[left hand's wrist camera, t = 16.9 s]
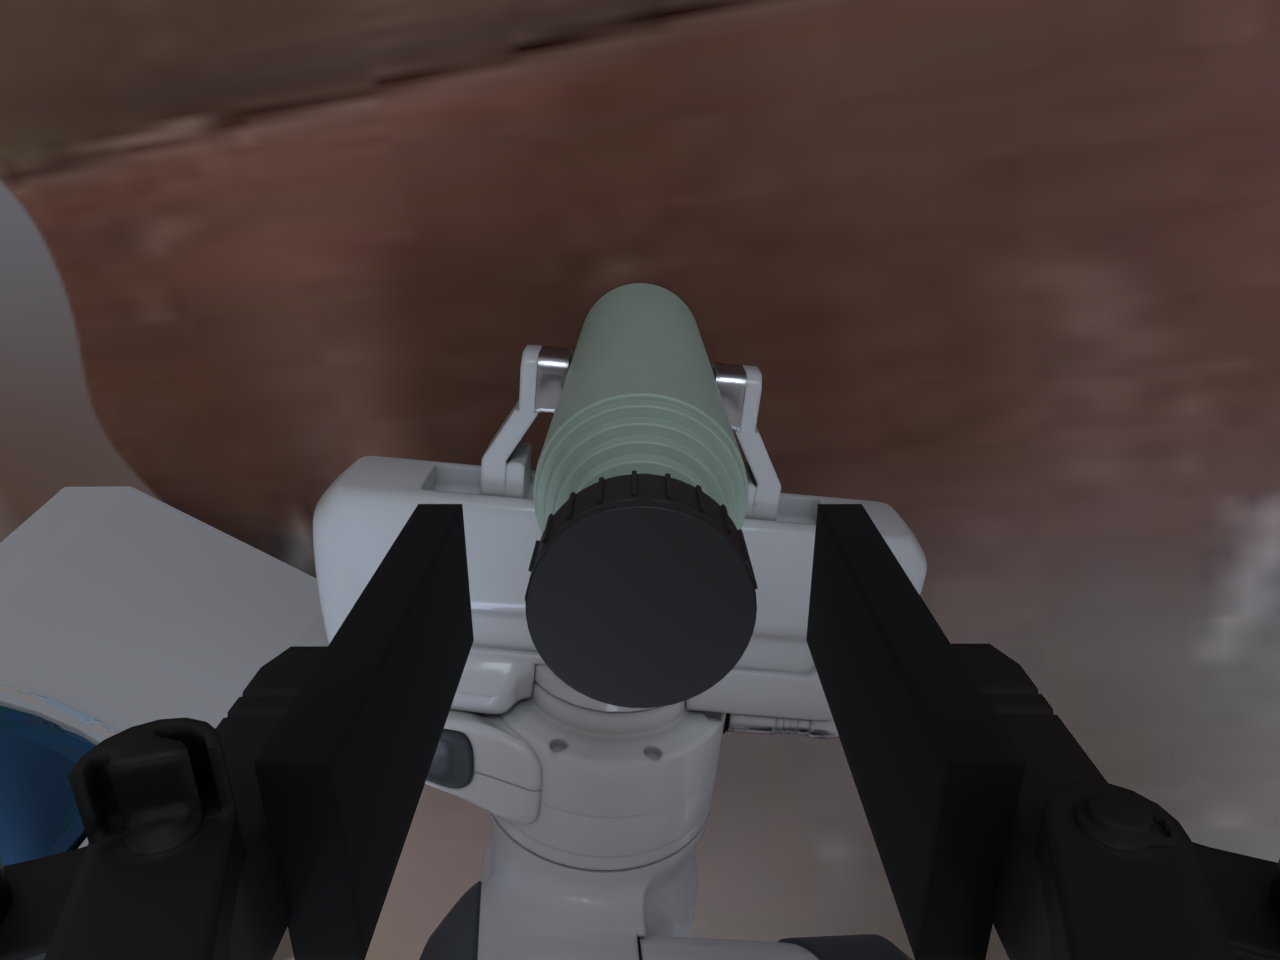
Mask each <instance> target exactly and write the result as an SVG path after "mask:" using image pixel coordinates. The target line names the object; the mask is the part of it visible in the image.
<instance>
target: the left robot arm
mask: <svg viewBox="0 0 1280 960" xmlns="http://www.w3.org/2000/svg"><path fill="white" fill-rule="evenodd" d="M473 641H474V637H473V626H472V614H471V602H470V590H469V578H468V566H467V554H466V542H465V530H464V518H463V507H462V504H418V505H417V507H416V508H415V510H414V512H413V513H412V515H411V516H410V518H409V519H408V521H407V523H406V524H405V526H404V527H403V529H402V530H401V532H400V534H399V535H398V537H397V538H396V540H395V541H394V543H393V545H392V546H391V548H390V549H389V551H388V553H387V554H386V556H385V557H384V559H383V560H382V562H381V564H380V565H379V567H378V568H377V570H376V571H375V573H374V575H373V576H372V578H371V579H370V581H369V582H368V584H367V586H366V587H365V589H364V590H363V592H362V593H361V595H360V597H359V598H358V600H357V601H356V603H355V605H354V606H353V608H352V609H351V611H350V612H349V614H348V616H347V617H346V619H345V620H344V622H343V623H342V625H341V627H340V628H339V630H338V631H337V633H336V634H335V636H334V638H333V639H332V641H331V642H330V644H329V645H328V646H291V647H289V648H288V649H287V650H285V651H284V652H282V653H281V654H279V655H278V656H277V657H275V658H274V659H272V660H271V661H269V662H268V663H266V664H265V665H264V666H262V667H261V668H260V669H259V670H258V672H257V673H256V675H255V676H254V677H253V679H252V680H251V681H250V683H249V684H248V685H247V687H246V688H245V689H244V691H243V695H242V697H239V698H238V699H237V700H236V702H235V703H234V704H233V706H232V707H231V708H230V710H229V711H228V715H227V718H223V719H222V721H221V722H220V723H219V725H218V726H217V727H216V729H215V728H214V727H212V726H211V725H210V724H209V723H208V722H205V721H201V720H196V719H191V718H171V719H159V720H155V721H152V722H148V723H144V724H141V725H137V726H133V727H130V728H128V729H126V730H124V731H122V732H120V733H118V734H115V735H113V736H111V737H109V738H107V739H105V740H103V741H102V742H100V743H99V744H98V745H96V746H95V747H94V748H92V749H91V750H90V751H88V752H87V753H86V754H84V755H83V756H81V758H80V759H79V760H78V762H77V763H76V764H75V766H74V767H73V768H72V770H71V771H70V772H69V774H68V778H69V781H70V784H71V787H72V790H73V794H74V797H75V800H76V803H77V807H78V810H79V813H80V816H81V819H82V823H83V826H84V829H85V832H86V836H87V839H88V842H89V843H88V845H87V846H85V847H82V848H78V849H75V850H72V851H68V852H63V853H59V854H55V855H50V856H46V857H42V858H37V859H33V860H29V861H24V862H20V863H16V864H11V865H7V866H3V865H2V862H1V860H0V960H272V959H273V957H274V954H275V952H276V950H277V948H278V946H279V944H280V941H281V939H282V937H283V935H284V933H285V930H286V928H287V926H288V929H289V933H290V938H291V943H292V948H293V953H294V958H295V960H365V957H366V954H367V951H368V948H369V945H370V942H371V939H372V936H373V933H374V930H375V927H376V925H377V922H378V919H379V916H380V913H381V910H382V907H383V904H384V901H385V898H386V895H387V892H388V889H389V887H390V884H391V881H392V878H393V875H394V872H395V869H396V866H397V863H398V860H399V857H400V854H401V851H402V849H403V846H404V843H405V840H406V837H407V834H408V831H409V828H410V825H411V822H412V819H413V816H414V813H415V811H416V808H417V805H418V802H419V799H420V796H421V793H422V790H423V787H424V784H425V781H426V778H427V776H428V773H429V770H430V767H431V764H432V761H433V758H434V755H435V752H436V749H437V746H438V743H439V740H440V738H441V735H442V732H443V729H444V726H445V723H446V720H447V717H448V714H449V711H450V708H451V705H452V702H453V700H454V697H455V694H456V691H457V688H458V685H459V682H460V679H461V676H462V673H463V670H464V667H465V664H466V662H467V659H468V656H469V653H470V650H471V647H472V644H473ZM806 641H807V644H808V647H809V650H810V653H811V656H812V659H813V662H814V664H815V667H816V670H817V673H818V676H819V679H820V682H821V685H822V688H823V691H824V694H825V697H826V700H827V702H828V705H829V708H830V711H831V714H832V717H833V720H834V723H835V726H836V729H837V732H838V735H839V738H840V740H841V743H842V746H843V749H844V752H845V755H846V758H847V761H848V764H849V767H850V770H851V773H852V776H853V778H854V781H855V784H856V787H857V790H858V793H859V796H860V799H861V802H862V805H863V808H864V811H865V813H866V816H867V819H868V822H869V825H870V828H871V831H872V834H873V837H874V840H875V843H876V846H877V849H878V851H879V854H880V857H881V860H882V863H883V866H884V869H885V872H886V875H887V878H888V881H889V884H890V887H891V889H892V892H893V895H894V898H895V901H896V904H897V907H898V910H899V913H900V916H901V919H902V922H903V925H904V927H905V930H906V933H907V936H908V939H909V942H910V945H911V948H912V951H913V954H914V957H915V960H985V958H986V953H987V948H988V943H989V939H990V934H991V929H992V924H994V926H995V928H996V931H997V933H998V935H999V937H1000V939H1001V942H1002V944H1003V946H1004V948H1005V950H1006V952H1007V955H1008V957H1009V959H1010V960H1280V860H1279V862H1278V863H1275V862H1271V861H1267V860H1262V859H1258V858H1254V857H1249V856H1245V855H1241V854H1236V853H1232V852H1227V851H1223V850H1219V849H1214V848H1210V847H1207V846H1203V845H1200V844H1197V843H1193V842H1192V841H1191V840H1190V838H1189V837H1188V835H1187V834H1186V832H1185V831H1184V829H1183V828H1182V826H1181V825H1180V823H1179V822H1178V821H1177V820H1176V819H1175V818H1173V817H1172V816H1171V815H1170V814H1169V813H1168V812H1166V811H1165V810H1164V809H1163V808H1162V807H1160V806H1159V805H1158V804H1156V803H1154V802H1152V801H1151V800H1149V799H1147V798H1145V797H1143V796H1141V795H1139V794H1137V793H1135V792H1134V791H1132V790H1129V789H1125V788H1122V787H1119V786H1115V785H1112V784H1109V783H1107V781H1106V780H1105V779H1104V777H1103V776H1102V775H1101V773H1100V772H1099V771H1098V769H1097V768H1096V767H1095V765H1094V764H1093V763H1092V761H1091V760H1090V759H1089V757H1088V756H1087V754H1086V753H1085V752H1084V750H1083V749H1082V748H1081V746H1080V745H1079V744H1078V742H1077V741H1076V740H1075V738H1074V737H1073V736H1072V734H1071V733H1070V732H1069V730H1068V729H1067V728H1066V726H1065V725H1064V724H1063V722H1062V721H1061V720H1060V718H1059V717H1058V716H1057V715H1054V714H1053V709H1052V707H1051V706H1050V705H1049V703H1048V702H1047V701H1046V699H1045V698H1044V697H1043V695H1042V694H1038V689H1037V687H1036V686H1035V685H1034V683H1033V682H1032V681H1031V679H1030V678H1029V677H1028V675H1027V674H1026V673H1025V671H1024V670H1023V669H1022V667H1021V666H1020V665H1019V664H1018V663H1016V662H1015V661H1013V660H1012V659H1011V658H1009V657H1008V656H1006V655H1005V654H1003V653H1002V652H1000V651H999V650H998V649H996V648H995V647H993V646H992V645H990V644H950V642H949V641H948V639H947V638H946V636H945V634H944V633H943V631H942V630H941V628H940V627H939V625H938V623H937V622H936V620H935V619H934V617H933V616H932V614H931V612H930V611H929V609H928V608H927V606H926V605H925V603H924V601H923V600H922V598H921V597H920V595H919V593H918V592H917V590H916V589H915V587H914V586H913V584H912V582H911V581H910V579H909V578H908V576H907V575H906V573H905V571H904V570H903V568H902V567H901V565H900V564H899V562H898V560H897V559H896V557H895V556H894V554H893V553H892V551H891V549H890V548H889V546H888V545H887V543H886V541H885V540H884V538H883V537H882V535H881V534H880V532H879V530H878V529H877V527H876V526H875V524H874V523H873V521H872V519H871V518H870V516H869V515H868V513H867V512H866V510H865V508H864V507H863V505H862V504H818V507H817V518H816V530H815V542H814V554H813V566H812V578H811V590H810V602H809V614H808V626H807V637H806Z"/></svg>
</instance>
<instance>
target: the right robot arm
mask: <svg viewBox="0 0 1280 960" xmlns="http://www.w3.org/2000/svg"><path fill="white" fill-rule="evenodd" d="M571 360H572V349H565V348H556V347H547V346H542V345H527V346H526V347H525V349H524V351H523V355H522V361H521V371H520V392H519V400H518V401H517V403H516V404H515V406H514V407H513V409H512V410H511V412H510V413H509V415H508V416H507V418H506V419H505V421H504V422H503V424H502V425H501V426H500V428H499V429H498V431H497V432H496V434H495V435H494V437H493V438H492V440H491V442H490V444H489V446H488V448H487V450H486V452H485V453H484V455H483V457H482V462H481V466H480V465H469V464H458V463H447V462H436V461H425V460H414V459H403V458H392V457H382V456H364V457H362V458H359V459H358V460H356V461H355V462H354V463H353V464H352V465H351V466H350V467H348V468H347V469H346V470H345V471H344V472H343V473H342V474H341V475H339V476H338V477H337V478H336V479H335V480H334V481H333V482H332V484H331V485H330V486H329V487H328V489H327V490H326V491H325V492H324V493H323V495H322V496H321V498H320V500H319V501H318V503H317V506H316V508H315V511H314V515H313V548H314V560H315V570H316V578H317V585H318V592H319V598H320V604H321V610H322V615H323V620H324V625H325V630H326V635H327V639H328V643H329V644H330V642H331V641H332V639H333V638H334V636H335V634H336V633H337V631H338V630H339V628H340V627H341V625H342V623H343V622H344V620H345V619H346V617H347V616H348V614H349V612H350V611H351V609H352V608H353V606H354V605H355V603H356V601H357V600H358V598H359V597H360V595H361V593H362V592H363V590H364V589H365V587H366V586H367V584H368V582H369V581H370V579H371V578H372V576H373V575H374V573H375V571H376V570H377V568H378V567H379V565H380V564H381V562H382V560H383V559H384V557H385V556H386V554H387V553H388V551H389V549H390V548H391V546H392V545H393V543H394V541H395V540H396V538H397V537H398V535H399V534H400V532H401V530H402V529H403V527H404V526H405V524H406V523H407V521H408V519H409V518H410V516H411V515H412V513H413V512H414V510H415V508H416V507H417V505H418V504H462V507H463V518H464V530H465V542H466V554H467V566H468V578H469V590H470V602H471V614H472V626H473V637H474V641H473V644H472V647H471V650H470V653H469V656H468V659H467V662H466V664H465V667H464V670H463V673H462V676H461V679H460V682H459V685H458V688H457V691H456V694H455V697H454V700H453V702H452V705H451V708H450V711H449V714H448V717H447V720H446V723H445V726H444V729H443V732H442V735H441V738H440V740H439V743H438V746H437V749H436V752H435V755H434V758H433V761H432V764H431V767H430V770H429V773H428V776H427V778H426V781H425V784H427V785H429V786H432V787H435V788H437V789H440V790H443V791H445V792H448V793H450V794H452V795H455V796H457V797H460V798H462V799H464V800H466V801H468V802H471V803H473V804H475V805H477V806H479V807H481V808H483V809H485V810H487V811H489V814H490V818H491V821H492V824H493V832H492V834H491V836H490V839H489V841H488V844H487V847H486V850H485V854H484V858H483V864H482V873H481V881H479V882H477V883H476V884H475V885H474V886H472V887H471V888H470V889H469V890H468V891H467V892H466V893H465V894H464V895H463V896H462V897H461V898H460V899H459V901H458V902H457V903H456V904H455V905H454V907H453V908H452V909H451V911H450V912H449V913H448V914H447V916H446V917H445V918H444V919H443V921H442V922H441V923H440V925H439V926H438V927H437V928H436V930H435V931H434V932H433V934H432V935H431V936H430V938H429V940H428V941H427V943H426V946H425V948H424V950H423V952H422V955H421V957H420V960H912V959H911V958H909V957H908V956H907V955H906V954H905V953H903V952H902V951H901V950H900V949H899V948H897V947H896V946H895V945H894V944H893V943H891V942H890V941H889V940H887V939H885V938H884V937H882V936H879V935H875V934H864V935H844V936H823V937H802V938H786V939H781V940H779V941H778V942H764V941H746V940H727V939H708V938H690V937H689V933H690V928H691V924H692V918H693V913H694V908H695V903H696V897H697V887H698V867H697V861H696V856H695V852H694V848H695V846H696V845H697V843H698V841H699V839H700V838H701V836H702V834H703V832H704V830H705V827H706V824H707V821H708V818H709V815H710V809H711V803H712V798H713V792H714V785H715V779H716V773H717V767H718V761H719V755H720V749H721V740H722V734H723V733H725V731H728V732H741V733H754V734H773V733H774V734H780V733H781V734H787V733H788V734H794V733H795V734H799V735H806V737H810V738H816V739H833V738H839V735H838V732H837V729H836V726H835V723H834V720H833V717H832V714H831V711H830V708H829V705H828V702H827V700H826V697H825V694H824V691H823V688H822V685H821V682H820V679H819V676H818V673H817V670H816V667H815V664H814V662H813V659H812V656H811V653H810V650H809V647H808V644H807V641H806V637H807V626H808V614H809V602H810V590H811V578H812V566H813V554H814V542H815V530H816V518H817V507H818V504H862V505H863V507H864V508H865V510H866V512H867V513H868V515H869V516H870V518H871V519H872V521H873V523H874V524H875V526H876V527H877V529H878V530H879V532H880V534H881V535H882V537H883V538H884V540H885V541H886V543H887V545H888V546H889V548H890V549H891V551H892V553H893V554H894V556H895V557H896V559H897V560H898V562H899V564H900V565H901V567H902V568H903V570H904V571H905V573H906V575H907V576H908V578H909V579H910V581H911V582H912V584H913V586H914V587H915V589H916V590H917V592H918V593H919V595H920V594H921V591H922V588H923V584H924V581H925V577H926V571H927V562H926V557H925V554H924V552H923V550H922V548H921V546H920V544H919V542H918V540H917V539H916V537H915V535H914V534H913V532H912V531H911V529H910V528H909V527H908V525H907V524H906V523H905V522H904V520H903V519H902V518H901V517H900V516H899V515H898V513H897V512H896V511H895V510H894V509H893V508H892V507H891V506H890V505H888V504H886V503H883V502H878V501H868V500H856V499H845V498H834V497H823V496H812V495H801V494H790V493H780V492H781V484H780V482H779V480H778V477H777V475H776V472H775V470H774V468H773V465H772V463H771V460H770V458H769V455H768V453H767V451H766V448H765V446H764V443H763V441H762V439H761V436H760V434H759V431H758V429H757V427H756V423H757V417H758V410H759V404H760V397H761V391H762V374H761V372H760V370H759V369H758V367H757V366H747V365H737V364H725V363H713V365H712V371H713V374H714V377H715V379H716V382H717V385H718V388H719V391H720V394H721V397H722V400H723V403H724V406H725V409H726V412H727V415H728V418H729V421H730V424H731V427H732V430H735V433H736V435H737V437H738V440H739V442H740V444H741V447H742V449H743V451H744V454H745V456H746V458H747V461H748V463H749V466H748V465H747V463H746V462H744V465H745V470H746V474H747V479H748V505H747V510H746V516H745V519H744V522H743V526H742V529H741V530H742V532H743V535H744V539H745V542H746V546H747V550H748V553H749V557H750V561H751V564H752V568H753V572H754V575H755V579H756V583H757V589H755V591H756V600H757V613H756V622H755V626H754V631H753V634H752V637H751V639H750V642H749V644H748V647H747V648H746V650H745V652H744V654H743V655H742V657H741V659H740V660H739V661H738V663H737V664H736V665H735V667H734V668H733V669H732V670H731V671H730V672H729V673H728V674H727V675H726V676H725V677H724V678H723V679H722V680H721V681H719V682H718V683H717V684H715V685H714V686H713V687H711V688H710V689H708V690H706V691H705V692H703V693H701V694H700V695H697V696H695V697H693V698H691V699H688V700H686V701H683V702H679V703H676V704H673V705H668V706H663V707H656V708H627V707H619V706H614V705H610V704H606V703H602V702H600V701H597V700H594V699H591V698H589V697H587V696H585V695H583V694H581V693H579V692H577V691H576V690H574V689H573V688H571V687H570V686H568V685H567V684H565V683H564V682H563V681H562V680H561V679H559V678H558V677H557V676H556V675H555V674H554V673H553V672H552V671H551V670H550V669H549V667H548V666H547V665H546V664H545V662H544V661H543V659H542V658H541V656H540V655H539V654H538V652H537V650H536V648H535V646H534V644H533V642H532V639H531V636H530V633H529V630H528V625H527V619H526V601H525V594H526V590H527V586H528V582H529V579H530V575H531V571H528V569H529V565H530V562H531V558H532V554H533V550H534V547H535V543H536V540H538V541H540V539H541V537H542V533H541V530H540V527H539V524H538V520H537V517H536V513H535V508H534V501H533V484H534V476H535V472H536V470H531V460H532V445H531V444H530V443H527V442H519V441H520V440H521V439H522V437H523V436H524V434H525V433H526V431H527V430H528V428H529V427H530V425H531V424H532V422H533V421H534V419H535V418H536V416H537V415H538V414H539V412H550V413H554V412H555V409H556V406H557V403H558V400H559V397H560V394H561V391H562V388H563V385H564V382H565V379H566V376H567V373H568V370H569V367H570V364H571Z"/></svg>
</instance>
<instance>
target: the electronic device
mask: <svg viewBox="0 0 1280 960" xmlns="http://www.w3.org/2000/svg"><path fill="white" fill-rule="evenodd" d="M328 645H329V643H328V639H327V635H326V630H325V625H324V620H323V615H322V610H321V604H320V598H319V592H318V585H317V578H315V577H313V576H311V575H309V574H307V573H305V572H303V571H301V570H299V569H296V568H294V567H292V566H290V565H288V564H286V563H284V562H282V561H280V560H278V559H276V558H274V557H272V556H270V555H268V554H266V553H264V552H262V551H260V550H258V549H256V548H254V547H252V546H250V545H248V544H246V543H244V542H242V541H240V540H238V539H236V538H234V537H232V536H230V535H228V534H226V533H224V532H222V531H220V530H218V529H216V528H214V527H212V526H210V525H208V524H206V523H204V522H202V521H200V520H198V519H196V518H194V517H192V516H190V515H188V514H186V513H184V512H182V511H180V510H178V509H176V508H174V507H172V506H170V505H168V504H166V503H163V502H161V501H159V500H157V499H155V498H153V497H151V496H149V495H147V494H145V493H143V492H141V491H139V490H137V489H135V488H133V487H131V486H94V487H64V488H63V489H61V490H60V491H59V492H58V493H57V494H56V495H55V496H54V497H52V498H51V499H50V500H49V501H48V502H47V503H46V504H44V505H43V506H42V507H41V508H40V509H39V510H38V511H36V512H35V513H34V514H33V515H32V516H31V517H30V518H28V519H27V520H26V521H25V522H24V523H23V524H22V525H20V526H19V527H18V528H17V529H16V530H15V531H14V532H13V533H11V534H10V535H9V536H8V537H7V538H6V539H5V540H3V541H2V542H1V543H0V860H1V862H2V865H3V866H7V865H11V864H16V863H20V862H24V861H29V860H33V859H37V858H42V857H46V856H50V855H55V854H59V853H63V852H68V851H72V850H75V849H78V848H82V847H85V846H87V845H88V843H89V842H88V839H87V836H86V832H85V829H84V826H83V823H82V819H81V816H80V813H79V810H78V807H77V803H76V800H75V797H74V794H73V790H72V787H71V784H70V781H69V778H68V774H69V772H70V771H71V770H72V768H73V767H74V766H75V764H76V763H77V762H78V760H79V759H80V758H81V756H83V755H84V754H86V753H87V752H88V751H90V750H91V749H92V748H94V747H95V746H96V745H98V744H99V743H100V742H102V741H103V740H105V739H107V738H109V737H111V736H113V735H115V734H118V733H120V732H122V731H124V730H126V729H128V728H130V727H133V726H137V725H141V724H144V723H148V722H152V721H155V720H159V719H171V718H191V719H196V720H201V721H205V722H208V723H209V724H210V725H211V726H212V727H214V728H215V729H216V727H217V726H218V725H219V723H220V722H221V721H222V719H223V718H227V715H228V711H229V710H230V708H231V707H232V706H233V704H234V703H235V702H236V700H237V699H238V698H239V697H242V695H243V691H244V689H245V688H246V687H247V685H248V684H249V683H250V681H251V680H252V679H253V677H254V676H255V675H256V673H257V672H258V670H259V669H260V668H261V667H262V666H264V665H265V664H266V663H268V662H269V661H271V660H272V659H274V658H275V657H277V656H278V655H279V654H281V653H282V652H284V651H285V650H287V649H288V648H289V647H291V646H328Z"/></svg>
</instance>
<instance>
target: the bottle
mask: <svg viewBox="0 0 1280 960" xmlns="http://www.w3.org/2000/svg"><path fill="white" fill-rule="evenodd" d="M632 471H637V474H642V473H644V474H653V475H660V476H665V474H666V473H668V474H670V475H671V478H674V479H678V480H681V481H683V482H685V483H687V484H690V485H692V486H694V487H696V486H697V485H699V486H701V488H702V491H703V492H704V493H706V494H707V495H708V496H710V497H711V498H712V499H714V500H715V501H716V502H717V503H718V504H719V505H720V506H721V505H722V504H724V505H725V506H726V508H727V512H728V515H729V517H730V518H731V519H732V521H733V522H734V524H735V526H736V528H737V530H739V529H742V526H743V522H744V519H745V516H746V510H747V505H748V479H747V474H746V470H745V465H744V462H743V459H742V456H741V453H740V450H739V447H738V444H737V441H736V438H735V436H734V433H733V430H732V427H731V424H730V421H729V418H728V415H727V412H726V409H725V406H724V403H723V400H722V397H721V394H720V391H719V388H718V385H717V382H716V379H715V377H714V374H713V371H712V368H711V365H710V362H709V359H708V356H707V353H706V350H705V347H704V344H703V341H702V338H701V335H700V332H699V329H698V326H697V324H696V321H695V318H694V316H693V314H692V313H691V311H690V309H689V308H688V307H687V305H686V304H685V303H684V302H683V301H682V300H681V299H680V298H679V297H678V296H677V295H675V294H674V293H672V292H671V291H669V290H667V289H665V288H663V287H660V286H657V285H653V284H647V283H633V284H627V285H623V286H620V287H618V288H615V289H613V290H611V291H610V292H608V293H606V294H605V295H604V296H602V297H601V298H600V299H599V300H598V301H597V302H596V303H595V304H594V306H593V307H592V308H591V310H590V311H589V313H588V315H587V317H586V319H585V322H584V324H583V327H582V330H581V333H580V336H579V339H578V342H577V345H576V348H575V351H574V354H573V357H572V360H571V364H570V367H569V370H568V373H567V376H566V379H565V382H564V385H563V388H562V391H561V394H560V397H559V400H558V403H557V406H556V409H555V412H554V415H553V418H552V421H551V424H550V427H549V430H548V433H547V436H546V439H545V442H544V445H543V448H542V451H541V455H540V458H539V461H538V464H537V467H536V472H535V476H534V484H533V501H534V508H535V513H536V517H537V520H538V524H539V527H540V530H541V533H542V534H543V532H544V530H545V528H546V524H547V520H548V516H549V515H550V513H551V514H553V515H554V514H555V513H556V512H557V511H558V509H559V508H560V507H561V506H562V505H563V504H564V503H565V502H567V501H568V500H569V497H570V494H571V493H572V492H573V491H574V492H575V493H576V494H577V493H578V492H579V491H581V490H582V489H585V488H587V487H588V486H590V485H592V484H594V483H597V482H598V481H599V478H600V477H604V479H608V478H612V477H615V476H621V475H630V474H632Z"/></svg>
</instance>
